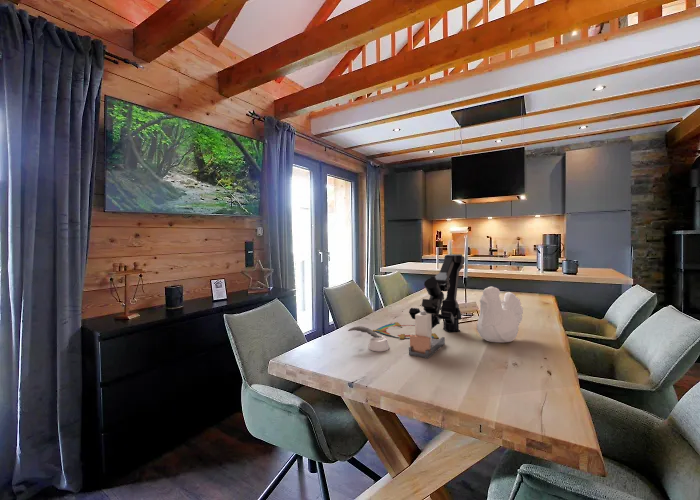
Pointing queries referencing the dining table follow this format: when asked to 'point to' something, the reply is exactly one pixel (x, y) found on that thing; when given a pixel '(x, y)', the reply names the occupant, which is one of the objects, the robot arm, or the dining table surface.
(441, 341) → the rail
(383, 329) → the ribbon cable
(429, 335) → the block
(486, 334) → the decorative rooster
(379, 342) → the inkwell
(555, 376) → the dining table surface
